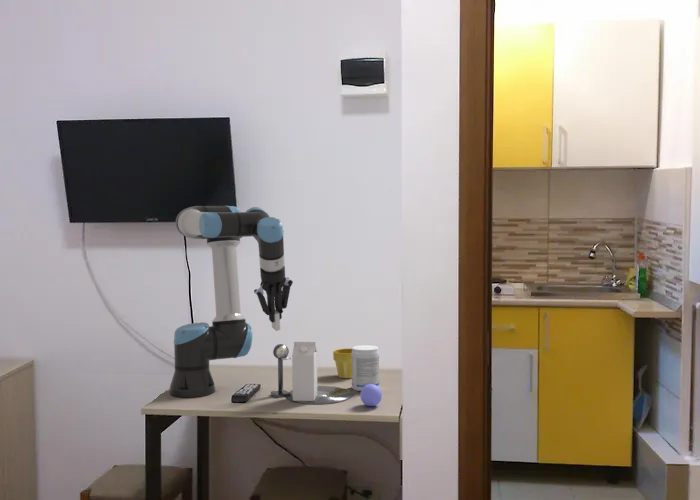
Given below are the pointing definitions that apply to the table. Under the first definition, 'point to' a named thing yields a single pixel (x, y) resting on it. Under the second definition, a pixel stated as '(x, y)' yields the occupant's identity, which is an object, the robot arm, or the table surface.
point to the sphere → (371, 395)
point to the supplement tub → (365, 366)
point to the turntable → (326, 395)
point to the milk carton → (304, 371)
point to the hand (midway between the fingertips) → (276, 328)
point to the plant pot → (343, 362)
